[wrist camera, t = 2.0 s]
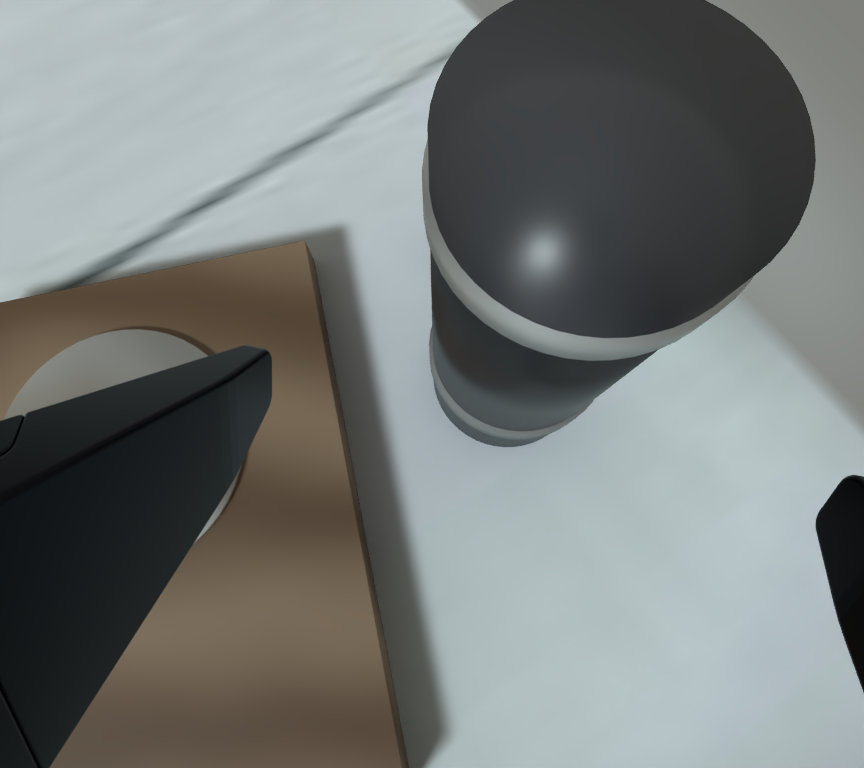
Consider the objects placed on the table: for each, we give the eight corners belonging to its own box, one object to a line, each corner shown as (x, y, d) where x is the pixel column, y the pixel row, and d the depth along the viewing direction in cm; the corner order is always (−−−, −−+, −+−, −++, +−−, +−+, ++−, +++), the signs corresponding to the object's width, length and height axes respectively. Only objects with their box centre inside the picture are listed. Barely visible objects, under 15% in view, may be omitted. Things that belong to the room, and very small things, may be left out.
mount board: (412, 786, 17) (409, 815, 15) (16, 886, 17) (-31, 925, 15) (313, 259, 21) (303, 237, 20) (-5, 325, 21) (-43, 308, 19)
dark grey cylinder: (598, 431, 20) (889, 271, 7) (449, 464, 19) (472, 361, 7) (557, 291, 21) (740, -56, 8) (416, 321, 21) (384, 11, 8)
